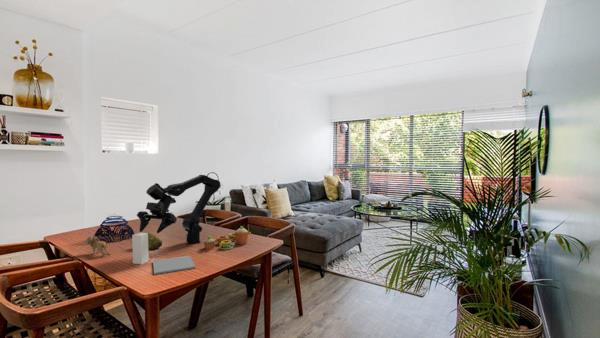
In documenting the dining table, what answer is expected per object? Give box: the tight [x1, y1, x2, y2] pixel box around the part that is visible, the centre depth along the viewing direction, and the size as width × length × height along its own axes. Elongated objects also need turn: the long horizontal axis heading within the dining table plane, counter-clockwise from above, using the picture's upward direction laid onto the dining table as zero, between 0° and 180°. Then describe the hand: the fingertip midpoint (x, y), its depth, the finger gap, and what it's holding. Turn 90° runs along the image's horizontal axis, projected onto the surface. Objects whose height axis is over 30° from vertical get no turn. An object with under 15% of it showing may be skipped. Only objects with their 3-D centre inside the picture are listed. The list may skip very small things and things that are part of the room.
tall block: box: [131, 231, 149, 265], centre depth 137 cm, size 4×4×13 cm
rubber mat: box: [152, 255, 196, 276], centre depth 133 cm, size 16×16×1 cm
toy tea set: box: [203, 226, 252, 251], centre depth 164 cm, size 26×16×10 cm, turn 149°
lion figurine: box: [84, 234, 111, 258], centre depth 147 cm, size 15×5×9 cm, turn 70°
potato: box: [142, 231, 163, 250], centre depth 158 cm, size 8×13×8 cm, turn 56°
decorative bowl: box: [93, 212, 135, 244], centre depth 176 cm, size 20×20×14 cm
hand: (148, 232), depth 142 cm, fingers open, 9 cm apart
